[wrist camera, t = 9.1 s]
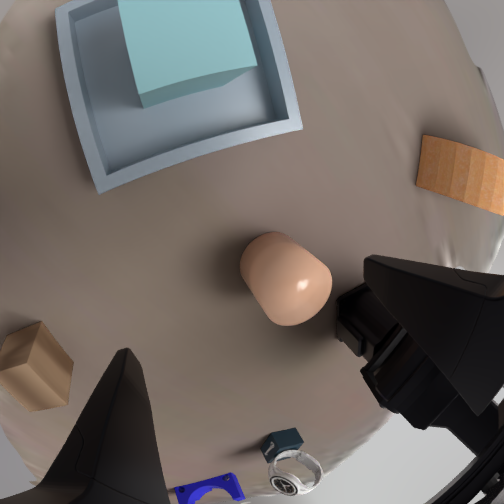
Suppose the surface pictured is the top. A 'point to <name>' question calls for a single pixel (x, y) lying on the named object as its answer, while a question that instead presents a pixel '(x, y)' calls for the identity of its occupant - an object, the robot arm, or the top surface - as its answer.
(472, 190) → the arch
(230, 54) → the teal block
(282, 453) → the watch
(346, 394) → the top surface
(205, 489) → the cable clip
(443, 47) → the top surface
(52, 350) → the walnut cube
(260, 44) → the tray
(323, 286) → the terracotta cylinder
